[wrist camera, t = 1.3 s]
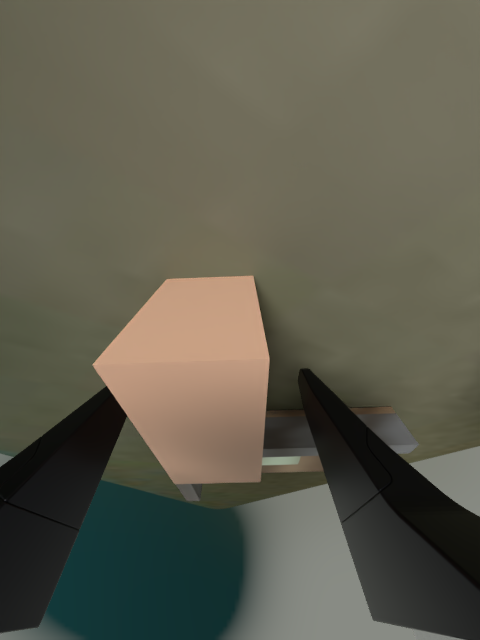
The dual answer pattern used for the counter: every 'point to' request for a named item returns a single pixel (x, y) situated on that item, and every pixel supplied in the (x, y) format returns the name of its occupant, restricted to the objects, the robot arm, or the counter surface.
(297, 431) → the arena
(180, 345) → the terracotta block
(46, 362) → the counter surface
